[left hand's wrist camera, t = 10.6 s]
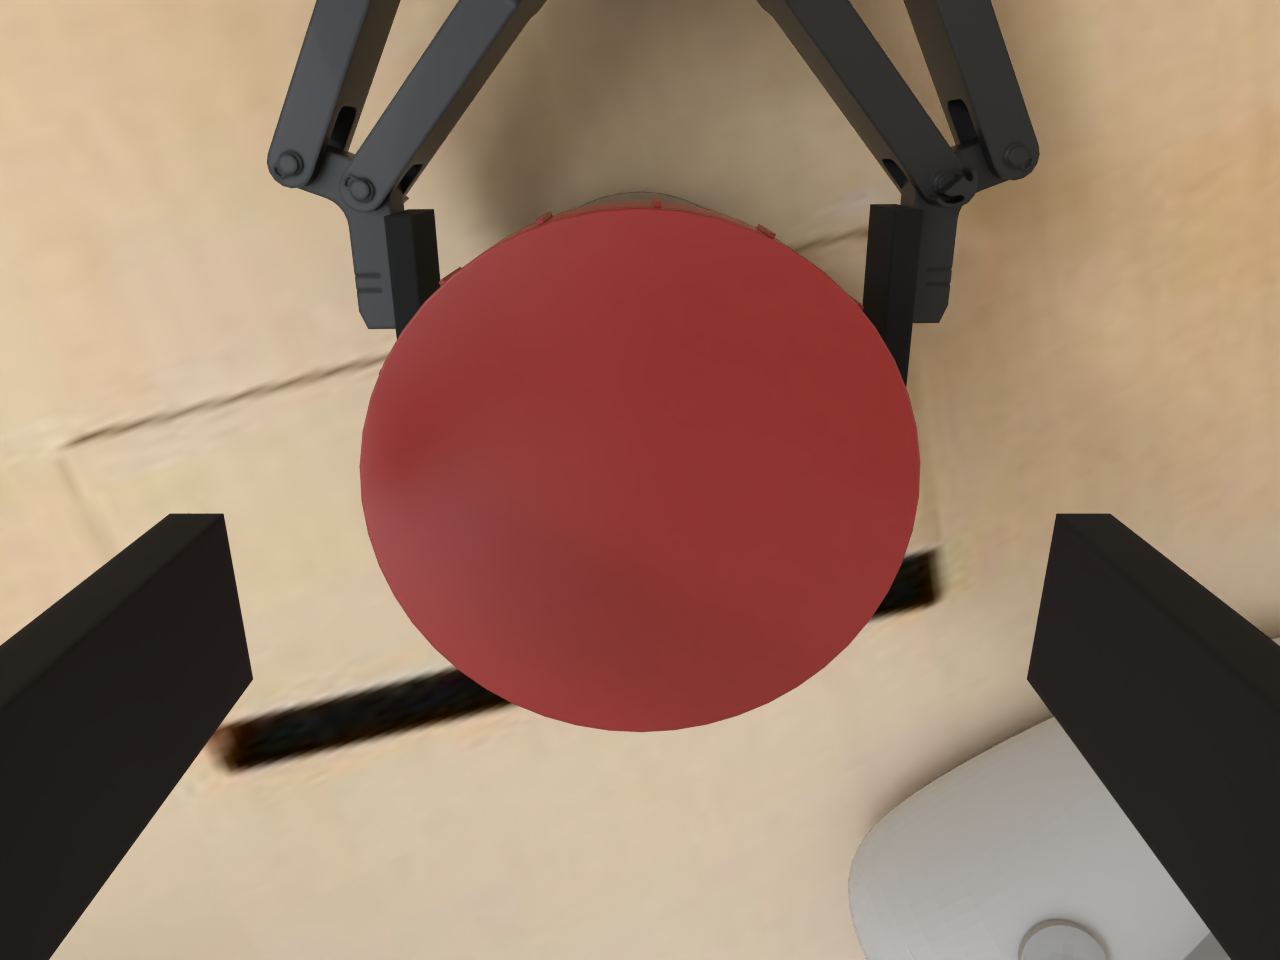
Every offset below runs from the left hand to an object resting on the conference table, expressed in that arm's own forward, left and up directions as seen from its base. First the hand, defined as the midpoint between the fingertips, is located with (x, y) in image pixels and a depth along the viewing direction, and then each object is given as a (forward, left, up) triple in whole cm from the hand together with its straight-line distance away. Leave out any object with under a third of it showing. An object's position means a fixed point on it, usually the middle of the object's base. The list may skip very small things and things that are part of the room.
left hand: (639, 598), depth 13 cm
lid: (0, 0, -4) cm, 4 cm away
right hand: (-2, -1, -14) cm, 15 cm away
